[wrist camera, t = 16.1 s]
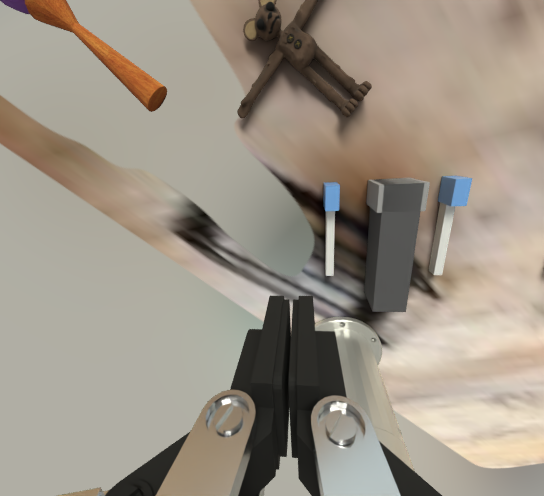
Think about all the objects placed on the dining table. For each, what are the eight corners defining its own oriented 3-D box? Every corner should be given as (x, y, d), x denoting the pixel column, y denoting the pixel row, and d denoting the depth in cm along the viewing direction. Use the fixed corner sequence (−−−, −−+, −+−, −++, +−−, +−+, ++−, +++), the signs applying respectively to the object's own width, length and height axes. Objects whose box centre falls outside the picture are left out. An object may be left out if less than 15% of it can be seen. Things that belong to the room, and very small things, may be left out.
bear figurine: (306, 172, 29) (198, 85, 26) (303, 168, 33) (209, 91, 30) (434, 10, 23) (313, -132, 20) (411, 28, 27) (308, -88, 24)
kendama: (132, 123, 28) (-53, -30, 24) (161, 118, 33) (12, -10, 29) (152, 74, 25) (-56, -113, 21) (181, 76, 30) (18, -74, 26)
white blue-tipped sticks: (552, 268, 33) (575, 279, 30) (323, 271, 36) (324, 280, 34) (588, 168, 28) (620, 170, 25) (323, 182, 32) (325, 186, 29)
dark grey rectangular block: (396, 291, 36) (409, 312, 32) (360, 291, 37) (368, 311, 32) (410, 177, 31) (429, 182, 26) (367, 179, 31) (379, 185, 27)
